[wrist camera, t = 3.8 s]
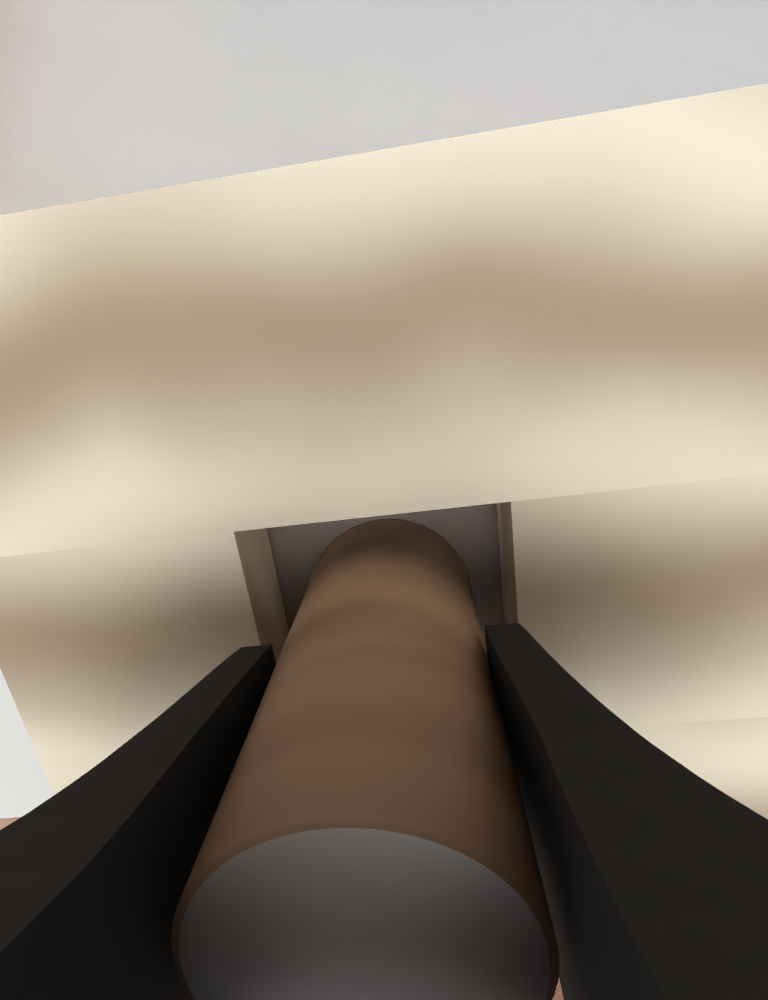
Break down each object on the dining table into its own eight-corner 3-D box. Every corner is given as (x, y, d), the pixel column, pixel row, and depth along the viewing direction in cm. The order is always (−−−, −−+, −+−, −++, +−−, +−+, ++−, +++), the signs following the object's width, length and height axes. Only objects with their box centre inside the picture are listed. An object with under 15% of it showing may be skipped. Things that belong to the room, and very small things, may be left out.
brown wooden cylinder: (475, 653, 13) (566, 1088, 6) (326, 666, 14) (218, 1091, 6) (462, 510, 12) (555, 813, 4) (299, 528, 12) (121, 837, 5)
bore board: (735, 839, 15) (784, 913, 13) (149, 868, 16) (114, 938, 14) (809, 115, 9) (911, 58, 7) (-76, 261, 11) (-179, 245, 9)
